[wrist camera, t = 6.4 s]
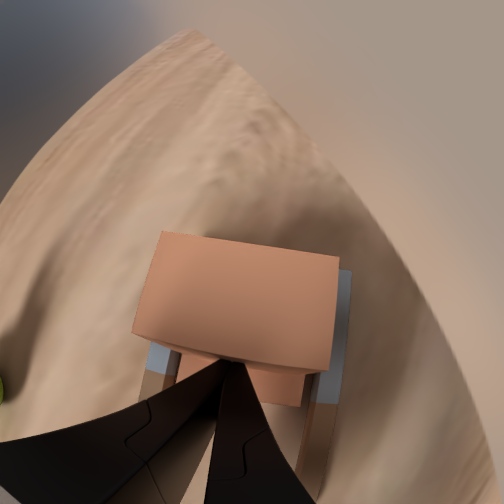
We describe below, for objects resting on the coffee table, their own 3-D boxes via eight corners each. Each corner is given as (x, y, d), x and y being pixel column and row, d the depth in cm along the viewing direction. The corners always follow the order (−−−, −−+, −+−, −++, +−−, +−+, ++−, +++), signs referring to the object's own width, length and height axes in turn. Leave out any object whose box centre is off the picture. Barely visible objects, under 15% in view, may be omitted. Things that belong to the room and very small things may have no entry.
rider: (292, 402, 15) (338, 431, 6) (190, 383, 15) (103, 380, 6) (307, 304, 17) (357, 213, 8) (211, 288, 18) (163, 188, 9)
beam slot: (303, 514, 11) (307, 528, 9) (137, 480, 12) (124, 489, 11) (343, 282, 18) (351, 270, 16) (186, 258, 19) (178, 244, 17)
